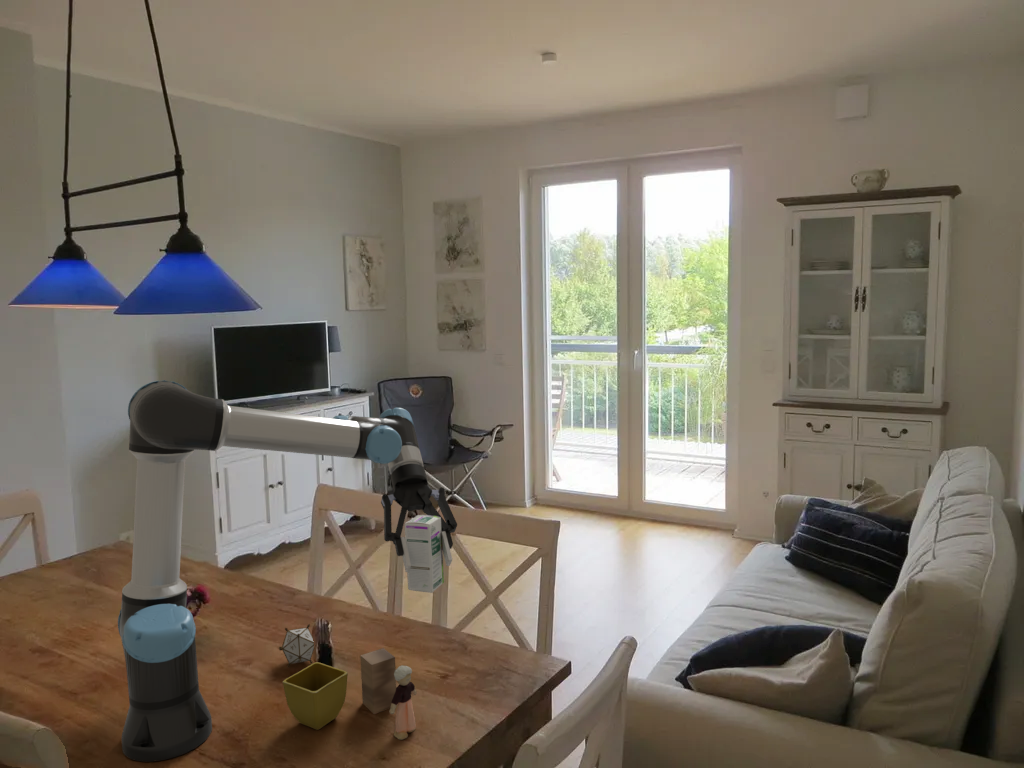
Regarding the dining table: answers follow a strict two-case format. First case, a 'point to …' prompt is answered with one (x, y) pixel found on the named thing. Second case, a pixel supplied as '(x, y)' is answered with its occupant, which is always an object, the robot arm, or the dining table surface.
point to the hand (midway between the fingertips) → (429, 565)
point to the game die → (298, 645)
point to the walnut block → (378, 680)
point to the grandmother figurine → (403, 703)
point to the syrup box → (424, 553)
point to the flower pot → (316, 694)
